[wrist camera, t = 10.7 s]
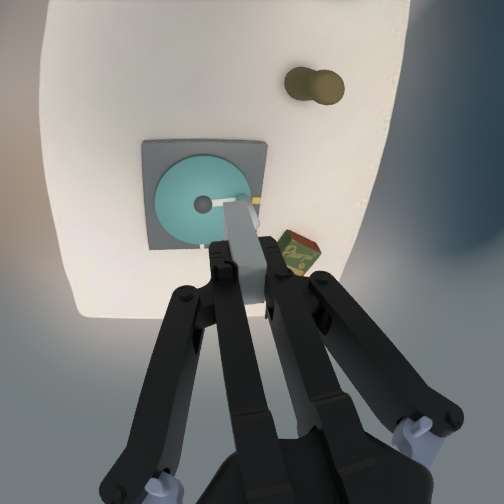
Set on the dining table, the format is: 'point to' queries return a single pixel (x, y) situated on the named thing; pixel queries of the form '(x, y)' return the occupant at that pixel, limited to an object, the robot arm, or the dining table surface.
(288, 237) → the carton
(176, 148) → the base plate
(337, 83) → the cork
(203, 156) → the dial
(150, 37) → the dining table surface
